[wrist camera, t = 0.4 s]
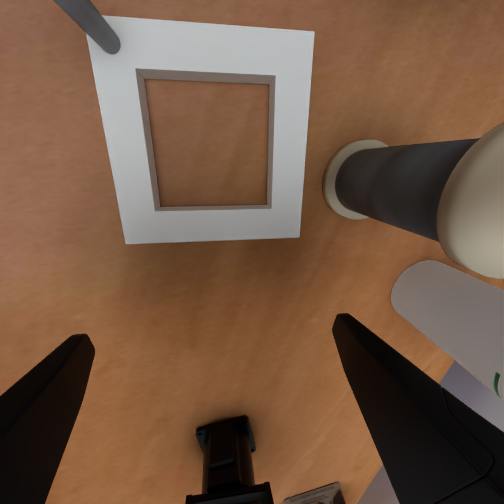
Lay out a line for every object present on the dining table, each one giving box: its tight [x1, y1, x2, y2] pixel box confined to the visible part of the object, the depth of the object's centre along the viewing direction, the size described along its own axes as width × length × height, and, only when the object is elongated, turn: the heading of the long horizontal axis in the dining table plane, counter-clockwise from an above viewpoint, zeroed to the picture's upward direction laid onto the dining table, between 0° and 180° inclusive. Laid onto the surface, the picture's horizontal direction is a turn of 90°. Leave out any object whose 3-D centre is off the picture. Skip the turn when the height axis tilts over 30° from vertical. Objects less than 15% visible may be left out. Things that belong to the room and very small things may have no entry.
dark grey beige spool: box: [322, 122, 504, 279], centre depth 16 cm, size 7×7×13 cm
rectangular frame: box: [54, 0, 314, 244], centre depth 14 cm, size 14×16×11 cm
